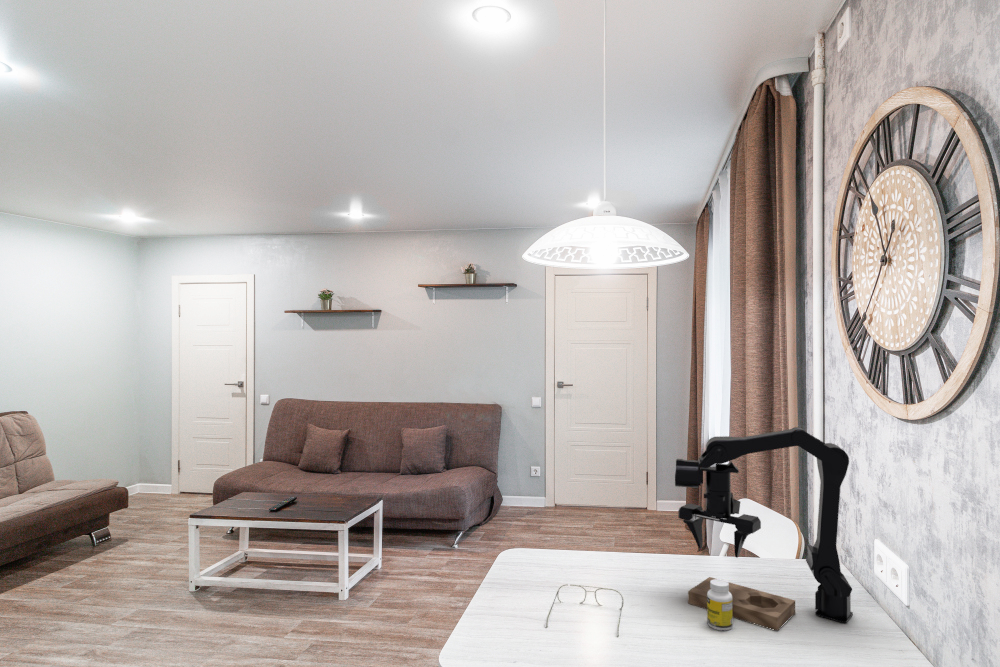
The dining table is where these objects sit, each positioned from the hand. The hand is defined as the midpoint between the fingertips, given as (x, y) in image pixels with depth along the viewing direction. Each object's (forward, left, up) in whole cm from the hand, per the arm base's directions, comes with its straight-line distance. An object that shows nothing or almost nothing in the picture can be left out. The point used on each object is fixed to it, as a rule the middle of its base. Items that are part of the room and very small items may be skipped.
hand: (718, 552), depth 153 cm
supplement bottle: (-5, +12, -12) cm, 18 cm away
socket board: (-5, 0, -12) cm, 13 cm away
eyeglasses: (+19, +29, -13) cm, 37 cm away
